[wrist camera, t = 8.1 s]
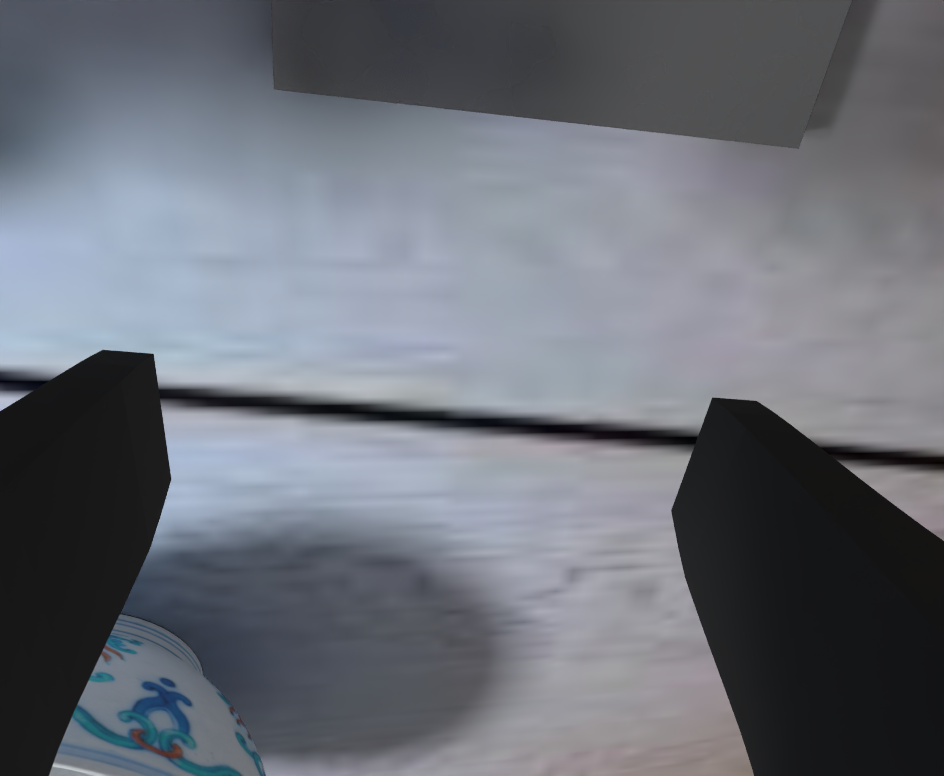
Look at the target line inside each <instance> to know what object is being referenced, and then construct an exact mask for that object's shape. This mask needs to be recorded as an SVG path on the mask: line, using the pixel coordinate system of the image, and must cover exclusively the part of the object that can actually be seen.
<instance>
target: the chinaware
mask: <svg viewBox="0 0 944 776" xmlns="http://www.w3.org/2000/svg"><path fill="white" fill-rule="evenodd" d="M49 776H266V774H265V771H264V768H263V764H262V762H261V759H260V756H259V754H258V751H257V749H256V746H255V744H254V742H253V740H252V738H251V736H250V734H249V732H248V730H247V728H246V727H245V725H244V723H243V722H242V720H241V718H240V717H239V715H238V714H237V712H236V711H235V710H234V708H233V707H232V706H231V704H230V703H229V702H228V700H227V699H226V698H225V697H224V696H223V694H222V693H221V692H220V691H219V690H218V689H217V688H216V687H215V686H214V685H213V684H212V683H211V682H210V681H209V680H208V679H207V678H205V677H204V676H203V671H202V667H201V664H200V662H199V660H198V658H197V657H196V655H195V654H194V652H193V651H192V650H191V649H190V648H189V647H188V646H187V645H186V644H185V643H184V642H183V641H182V640H181V639H179V638H178V637H177V636H175V635H174V634H172V633H171V632H169V631H167V630H165V629H164V628H162V627H160V626H157V625H155V624H153V623H150V622H148V621H145V620H142V619H139V618H135V617H131V616H127V615H122V614H120V615H119V617H118V619H117V621H116V623H115V626H114V628H113V630H112V632H111V634H110V636H109V638H108V640H107V643H106V645H105V647H104V649H103V651H102V653H101V655H100V657H99V660H98V662H97V664H96V666H95V668H94V670H93V672H92V674H91V677H90V679H89V681H88V683H87V685H86V687H85V689H84V691H83V694H82V696H81V698H80V700H79V702H78V704H77V706H76V709H75V711H74V713H73V715H72V718H71V720H70V723H69V725H68V727H67V730H66V732H65V735H64V737H63V739H62V742H61V744H60V747H59V749H58V752H57V754H56V757H55V760H54V763H53V766H52V769H51V771H50V774H49Z"/></svg>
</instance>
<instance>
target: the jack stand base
mask: <svg viewBox="0 0 944 776" xmlns="http://www.w3.org/2000/svg"><path fill="white" fill-rule="evenodd" d="M851 1H852V0H271V3H272V38H273V73H274V89H276V90H285V91H294V92H303V93H312V94H320V95H329V96H338V97H347V98H356V99H365V100H374V101H382V102H391V103H400V104H409V105H418V106H427V107H436V108H444V109H453V110H462V111H471V112H480V113H489V114H498V115H506V116H515V117H524V118H533V119H542V120H551V121H560V122H568V123H577V124H586V125H595V126H604V127H613V128H622V129H630V130H639V131H648V132H657V133H666V134H675V135H684V136H693V137H701V138H710V139H719V140H728V141H737V142H746V143H755V144H763V145H772V146H781V147H790V148H799V146H800V143H801V140H802V138H803V135H804V132H805V129H806V127H807V124H808V121H809V118H810V115H811V113H812V110H813V107H814V104H815V101H816V99H817V96H818V93H819V90H820V88H821V85H822V82H823V79H824V76H825V74H826V71H827V68H828V65H829V63H830V60H831V57H832V54H833V51H834V49H835V46H836V43H837V40H838V38H839V35H840V32H841V29H842V26H843V24H844V21H845V18H846V15H847V13H848V10H849V7H850V4H851Z"/></svg>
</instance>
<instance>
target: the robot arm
mask: <svg viewBox="0 0 944 776" xmlns="http://www.w3.org/2000/svg"><path fill="white" fill-rule="evenodd" d="M170 482H171V474H170V467H169V460H168V453H167V446H166V439H165V432H164V425H163V417H162V410H161V403H160V396H159V389H158V382H157V375H156V368H155V361H154V354H148V353H135V352H123V351H110V350H102V351H100V352H98V353H96V354H94V355H92V356H90V357H88V358H87V359H85V360H83V361H81V362H80V363H78V364H76V365H75V366H73V367H71V368H70V369H68V370H66V371H65V372H63V373H62V374H60V375H58V376H57V377H55V378H53V379H52V380H50V381H49V382H47V383H45V384H44V385H42V386H41V387H39V388H37V389H36V390H34V391H33V392H31V393H29V394H28V395H26V396H25V397H23V398H21V399H20V400H18V401H16V402H15V403H13V404H11V405H10V406H8V407H7V408H5V409H3V410H2V411H0V776H49V774H50V771H51V769H52V766H53V763H54V760H55V757H56V754H57V752H58V749H59V747H60V744H61V742H62V739H63V737H64V735H65V732H66V730H67V727H68V725H69V723H70V720H71V718H72V715H73V713H74V711H75V709H76V706H77V704H78V702H79V700H80V698H81V696H82V694H83V691H84V689H85V687H86V685H87V683H88V681H89V679H90V677H91V674H92V672H93V670H94V668H95V666H96V664H97V662H98V660H99V657H100V655H101V653H102V651H103V649H104V647H105V645H106V643H107V640H108V638H109V636H110V634H111V632H112V630H113V628H114V626H115V623H116V621H117V619H118V617H119V615H120V613H121V611H122V609H123V606H124V604H125V602H126V600H127V598H128V596H129V593H130V591H131V589H132V587H133V585H134V583H135V580H136V578H137V576H138V574H139V572H140V570H141V567H142V565H143V563H144V561H145V558H146V556H147V554H148V552H149V550H150V547H151V544H152V541H153V538H154V535H155V531H156V528H157V525H158V522H159V519H160V516H161V512H162V509H163V506H164V502H165V499H166V495H167V492H168V489H169V485H170ZM671 511H672V517H673V522H674V527H675V532H676V538H677V543H678V548H679V552H680V557H681V561H682V566H683V570H684V574H685V578H686V581H687V584H688V587H689V590H690V593H691V596H692V599H693V602H694V604H695V607H696V610H697V613H698V616H699V619H700V621H701V624H702V627H703V630H704V633H705V635H706V638H707V641H708V644H709V646H710V649H711V652H712V655H713V657H714V660H715V663H716V666H717V668H718V671H719V674H720V677H721V679H722V682H723V685H724V688H725V690H726V693H727V696H728V699H729V701H730V704H731V707H732V710H733V712H734V715H735V718H736V721H737V723H738V726H739V729H740V732H741V735H742V738H743V741H744V744H745V747H746V750H747V754H748V757H749V760H750V763H751V766H752V769H753V773H754V776H944V541H943V540H942V539H940V538H939V537H937V536H936V535H934V534H933V533H932V532H930V531H929V530H927V529H926V528H925V527H923V526H922V525H920V524H919V523H918V522H916V521H915V520H914V519H912V518H911V517H910V516H908V515H907V514H906V513H904V512H903V511H902V510H900V509H899V508H897V507H896V506H895V505H894V504H892V503H891V502H890V501H888V500H887V499H886V498H884V497H883V496H882V495H880V494H879V493H878V492H876V491H875V490H874V489H873V488H871V487H870V486H869V485H867V484H866V483H865V482H863V481H862V480H861V479H860V478H858V477H857V476H856V475H854V474H853V473H852V472H851V471H849V470H848V469H847V468H845V467H844V466H843V465H842V464H840V463H839V462H838V461H837V460H835V459H834V458H833V457H831V456H830V455H829V454H828V453H826V452H825V451H824V450H823V449H821V448H820V447H819V446H817V445H816V444H815V443H814V442H812V441H811V440H810V439H808V438H807V437H806V436H805V435H803V434H802V433H801V432H799V431H798V430H797V429H795V428H794V427H793V426H792V425H790V424H789V423H788V422H786V421H785V420H783V419H782V418H781V417H779V416H778V415H777V414H775V413H774V412H772V411H771V410H769V409H768V408H766V407H765V406H763V405H762V404H760V403H759V402H757V401H750V400H737V399H724V398H712V400H711V403H710V406H709V408H708V411H707V414H706V417H705V419H704V422H703V425H702V428H701V430H700V433H699V436H698V439H697V441H696V444H695V447H694V450H693V452H692V455H691V458H690V461H689V463H688V466H687V469H686V472H685V474H684V477H683V480H682V483H681V485H680V488H679V491H678V494H677V496H676V499H675V502H674V505H673V508H672V510H671Z"/></svg>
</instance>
